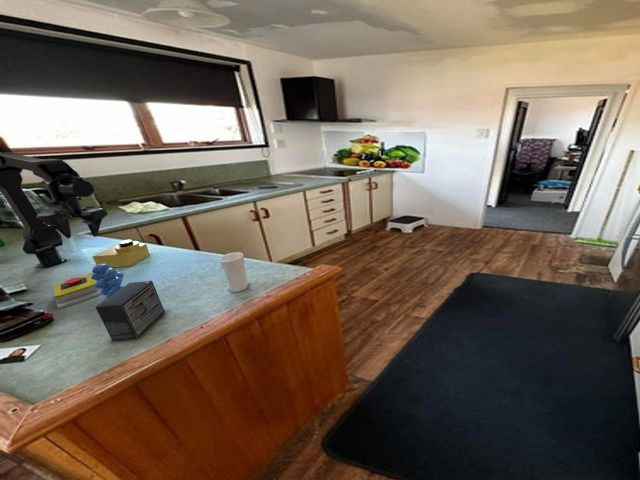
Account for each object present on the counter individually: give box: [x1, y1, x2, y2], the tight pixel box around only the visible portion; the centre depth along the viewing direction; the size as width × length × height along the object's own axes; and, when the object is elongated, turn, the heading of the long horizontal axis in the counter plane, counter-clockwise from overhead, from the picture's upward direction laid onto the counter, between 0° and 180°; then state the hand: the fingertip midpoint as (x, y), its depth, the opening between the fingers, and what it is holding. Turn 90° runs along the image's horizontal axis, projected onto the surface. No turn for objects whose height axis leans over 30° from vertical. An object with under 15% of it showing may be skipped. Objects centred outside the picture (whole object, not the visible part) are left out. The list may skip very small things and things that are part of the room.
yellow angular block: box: [92, 240, 151, 268], centre depth 107 cm, size 12×10×7 cm
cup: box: [218, 251, 249, 293], centre depth 85 cm, size 7×7×11 cm
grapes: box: [91, 264, 125, 298], centre depth 83 cm, size 12×7×12 cm, turn 71°
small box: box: [94, 280, 166, 342], centre depth 70 cm, size 11×6×10 cm, turn 5°
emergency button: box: [53, 273, 102, 309], centre depth 87 cm, size 9×4×15 cm
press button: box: [118, 239, 134, 247], centre depth 106 cm, size 4×4×2 cm
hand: (82, 237), depth 100 cm, fingers open, 9 cm apart
